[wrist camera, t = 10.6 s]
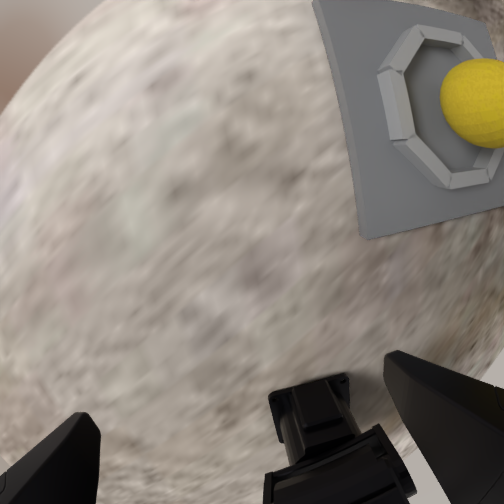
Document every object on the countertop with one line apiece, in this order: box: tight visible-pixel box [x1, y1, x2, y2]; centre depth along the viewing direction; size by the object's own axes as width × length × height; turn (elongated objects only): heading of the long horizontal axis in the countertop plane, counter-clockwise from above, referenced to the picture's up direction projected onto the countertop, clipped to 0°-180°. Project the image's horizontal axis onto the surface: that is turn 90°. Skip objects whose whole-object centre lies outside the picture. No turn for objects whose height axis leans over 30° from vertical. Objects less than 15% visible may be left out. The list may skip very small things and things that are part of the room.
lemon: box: [440, 58, 504, 148], centre depth 13 cm, size 6×6×8 cm
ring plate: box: [312, 0, 504, 240], centre depth 16 cm, size 16×16×3 cm
